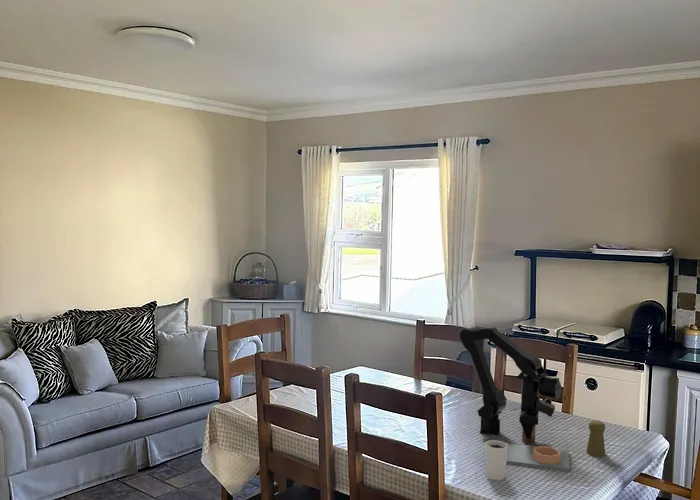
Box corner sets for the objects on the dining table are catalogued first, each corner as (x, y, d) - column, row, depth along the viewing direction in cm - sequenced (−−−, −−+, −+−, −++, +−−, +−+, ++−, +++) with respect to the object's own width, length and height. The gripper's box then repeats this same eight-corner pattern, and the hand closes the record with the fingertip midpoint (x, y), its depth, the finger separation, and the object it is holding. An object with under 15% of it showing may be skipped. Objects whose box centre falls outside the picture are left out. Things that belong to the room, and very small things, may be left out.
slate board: (504, 463, 204) (504, 460, 204) (507, 446, 219) (507, 443, 219) (569, 471, 198) (570, 468, 198) (568, 453, 213) (568, 450, 213)
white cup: (481, 472, 197) (482, 440, 196) (502, 471, 198) (503, 440, 197) (488, 481, 190) (489, 448, 190) (509, 480, 191) (510, 448, 190)
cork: (607, 457, 210) (608, 425, 209) (587, 456, 211) (589, 423, 211) (603, 451, 216) (604, 419, 215) (585, 449, 217) (586, 418, 216)
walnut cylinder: (521, 443, 222) (522, 420, 222) (522, 438, 227) (522, 416, 226) (534, 444, 221) (535, 422, 221) (535, 440, 225) (535, 418, 225)
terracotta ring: (532, 461, 203) (533, 454, 203) (533, 452, 211) (533, 445, 211) (560, 465, 201) (560, 457, 200) (559, 455, 209) (560, 448, 208)
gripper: (554, 402, 211) (552, 448, 212) (553, 387, 229) (552, 430, 230) (520, 399, 215) (518, 444, 216) (521, 384, 233) (520, 426, 233)
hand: (528, 436), depth 224 cm, fingers open, 6 cm apart
